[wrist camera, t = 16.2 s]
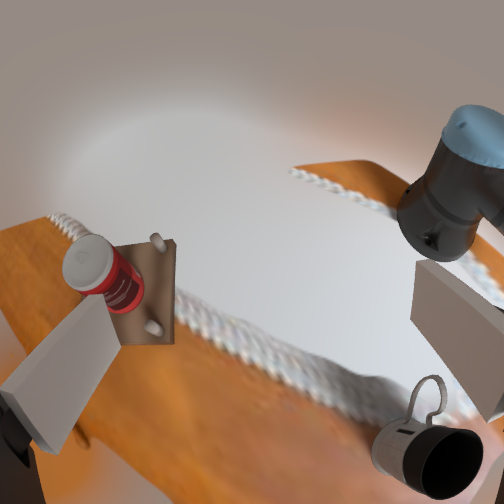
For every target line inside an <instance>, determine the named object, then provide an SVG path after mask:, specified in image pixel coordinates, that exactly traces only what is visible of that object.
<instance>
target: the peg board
mask: <svg viewBox="0 0 504 504" xmlns="http://www.w3.org/2000/svg"><path fill="white" fill-rule="evenodd" d="M150 241H151V242H146V243H138V244H131V245H124V246H116V247H114V248H115V249H116V250H117V251H118V252H119V253H120V254H121V255H122V256H123V257H124V258H125V259H126V260H127V261H128V262H129V263H130V264H131V265H132V266H133V267H134V268H135V269H136V270H137V271H138V272H139V273H140V275H141V277H142V279H143V282H144V296H143V298H142V301H141V302H140V304H139V305H138V306H137V307H136V308H135V309H134V310H132V311H130V312H128V313H124V314H117V313H112V312H110V311H108V312H109V315H110V318H111V321H112V323H113V326H114V329H115V332H116V335H117V337H118V340H119V343H120V345H167V344H174V300H175V265H176V264H175V263H176V244H175V242H174V241H173V239H169V240H163V239H162V238H161V236H160V235H159V234H158V233H153V234H152V235H151V236H150ZM85 298H86V297H85V296H84V295H82V299H81V302H82V301H83V300H84V299H85Z"/></svg>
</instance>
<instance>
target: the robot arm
mask: <svg viewBox="0 0 504 504" xmlns="http://www.w3.org/2000/svg"><path fill="white" fill-rule="evenodd" d="M483 217H485V218H486V219H487V220H488V221H489V222H490V223H491V224H492V225H493V226H494V227H495V228H496V229H498V231H499V232H500V233H501V234H503V236H504V116H503V115H502V114H500V113H498V112H496V111H495V110H492V109H490V108H487V107H484V106H479V105H464V106H461V107H459V108H457V109H456V110H455V111H454V112H453V113H452V115H451V117H450V119H449V121H448V123H447V125H446V126H445V127H444V129H443V131H442V136H441V139H440V142H439V144H438V146H437V148H436V150H435V153H434V155H433V157H432V159H431V161H430V163H429V165H428V168H427V170H426V172H425V174H424V175H423V176H422V177H420V178H419V179H418V180H417V181H415V182H414V183H413V184H411V185H410V186H409V187H408V188H407V189H406V190H405V192H404V193H403V195H402V197H401V199H400V202H399V204H398V208H397V218H398V223H399V226H400V229H401V231H402V233H403V235H404V237H405V238H406V240H407V241H408V242H409V243H410V245H411V246H412V247H413V248H414V249H416V251H418V252H419V253H420V254H422V255H423V256H425V257H427V258H429V259H427V260H420V261H416V271H415V282H414V293H413V301H412V310H411V317H410V320H411V321H412V322H413V323H414V324H415V326H416V327H417V328H418V329H419V331H420V332H421V333H422V334H423V336H424V337H425V338H426V339H427V341H428V342H429V343H430V345H431V346H432V347H433V348H434V350H435V351H436V352H437V354H438V355H439V356H440V358H441V359H442V360H443V362H444V363H445V364H446V366H447V367H448V368H449V370H450V371H451V372H452V374H453V375H454V377H455V378H456V379H457V381H458V382H459V383H460V385H461V386H462V388H463V389H464V390H465V392H466V393H467V395H468V396H469V398H470V399H471V400H472V402H473V403H474V405H475V406H476V408H477V409H478V411H479V412H480V414H481V415H482V417H483V418H484V420H485V421H486V423H489V422H491V421H493V420H495V419H497V418H499V417H501V416H503V415H504V310H503V309H501V308H499V307H496V306H494V305H492V304H491V303H490V302H488V301H487V300H486V299H484V298H483V297H482V296H481V295H480V294H478V293H477V292H475V291H474V290H473V289H471V288H470V287H469V286H468V285H466V284H465V283H464V282H462V281H461V280H460V279H458V278H457V277H456V276H454V275H453V274H451V273H450V272H449V271H447V270H446V269H445V268H443V267H442V266H440V265H439V264H438V263H436V262H435V261H438V262H451V261H455V260H457V259H459V258H460V257H461V256H463V255H464V254H465V253H466V252H467V251H468V249H469V248H470V247H471V245H472V243H473V241H474V238H475V234H476V231H477V228H478V225H479V222H480V220H481V219H482V218H483ZM433 260H434V261H433ZM120 349H121V345H120V343H119V340H118V337H117V335H116V332H115V329H114V326H113V323H112V321H111V318H110V315H109V312H108V309H107V306H106V303H105V299H104V296H103V294H95V295H88V296H87V297H86V298H85V299H84V300H83V301H82V302H81V303H80V304H79V305H78V306H77V307H76V308H75V309H74V310H73V311H72V312H71V313H70V314H69V315H68V316H67V317H65V318H64V319H63V320H62V321H61V322H60V323H59V324H58V325H57V326H56V327H55V328H54V329H53V330H52V331H51V332H50V333H49V335H48V336H47V337H46V338H45V339H44V340H43V341H42V342H41V343H40V344H39V345H38V346H37V347H36V348H35V349H34V350H33V351H32V352H31V353H30V354H29V355H28V356H27V358H26V359H25V360H24V361H23V362H22V363H21V364H20V365H19V366H18V367H17V368H16V370H15V371H14V372H13V373H12V374H11V375H10V376H9V377H8V379H7V380H6V381H5V382H4V383H3V384H2V385H1V387H0V504H46V503H45V499H44V495H43V491H42V488H41V483H40V479H39V475H38V470H37V465H36V460H35V455H34V451H33V449H32V448H31V446H30V445H29V444H30V442H31V441H32V439H33V440H34V442H35V443H36V444H37V445H38V446H39V448H40V449H41V450H42V451H45V452H48V453H51V454H54V455H58V453H59V452H60V450H61V448H62V446H63V444H64V442H65V441H66V439H67V437H68V435H69V433H70V432H71V430H72V428H73V426H74V425H75V423H76V421H77V419H78V418H79V416H80V414H81V413H82V411H83V409H84V407H85V406H86V404H87V402H88V401H89V399H90V397H91V396H92V394H93V392H94V391H95V389H96V387H97V386H98V384H99V382H100V381H101V379H102V377H103V376H104V374H105V372H106V371H107V369H108V368H109V366H110V364H111V363H112V361H113V360H114V358H115V356H116V355H117V353H118V352H119V350H120ZM503 432H504V430H503ZM495 504H504V470H503V475H502V479H501V483H500V487H499V490H498V494H497V498H496V501H495Z"/></svg>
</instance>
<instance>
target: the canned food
mask: <svg viewBox="0 0 504 504" xmlns="http://www.w3.org/2000/svg"><path fill="white" fill-rule="evenodd" d="M62 272H63V276H64V279H65V281H66V282H67V283H68V285H70V286H71V287H72V288H73V289H75V290H76V291H78V292H79V293H81V294H82V295H84V296H85V297H87V296H88V295H95V294H103V296H104V299H105V303H106V306H107V309H108V311H110V312H112V313H117V314H124V313H128V312H130V311H132V310H134V309H135V308H136V307H137V306H138V305H139V304H140V302H141V301H142V298H143V296H144V282H143V279H142V277H141V275H140V273H139V272H138V271H137V270H136V269H135V268H134V267H133V266H132V265H131V264H130V263H129V262H128V261H127V260H126V259H125V258H124V257H123V256H122V255H121V254H120V253H119V252H118V251H117V250H116V249H115V248H114V246H112V245H111V244H110V243H109V242H108V241H107V240H106V239H105V238H104V237H102V236H100V235H97V234H89V235H85V236H83V237H81V238H79V239H78V240H76V241H75V242H74V243H73V244H72V245H71V246H70V248H69V249H68V251H67V252H66V255H65V257H64V260H63V266H62Z"/></svg>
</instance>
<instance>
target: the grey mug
mask: <svg viewBox="0 0 504 504" xmlns="http://www.w3.org/2000/svg"><path fill="white" fill-rule="evenodd" d="M428 379H434V380H435V381H436V382H437V384H438V386H439V389H440V394H441V403H440V407H439V409H438V410H437V411H435V412H431V413H429V414H428V415H427V417H426V424H423V423H420V422H418V421H416V420H414V419H410V418H411V415H412V412H413V408H414V404H415V400H416V397H417V394H418V392H419V390H420V388H421V386H422V385H423V383H424V382H426V381H427V380H428ZM446 404H447V390H446V386H445V383H444V381H443V379H442V378H441V377H440V376H439V375H430V376H427V377H424V378H423V379H422V380H420V381H419V382H418V384H417V385H416V387H415V388H414V390H413V392H412V395H411V399H410V403H409V407H408V411H407V415H406V418H403V419H398V420H395V421H393V422H391V423H389V424H388V425H387V426H385V427H384V428H383V429H382V430H381V431H380V432H379V434H378V435H377V437H376V438H375V440H374V443H373V445H372V450H371V457H372V462H373V464H374V466H375V468H376V469H377V470H378V471H379V472H381V473H382V474H385V475H389V476H393V477H394V478H396V479H397V480H399V481H400V482H402V483H404V484H405V485H407V486H408V487H410V488H412V489H413V490H415V491H417V492H419V493H421V494H424V495H427V496H428V497H430V498H432V499H436V500H444V499H449V498H451V497H454V496H456V495H458V494H459V493H461V492H462V491H463V490H464V489H466V488H467V487H468V486H469V485H470V483H471V482H472V481H473V480H474V478H475V477H476V475H477V473H478V471H479V469H480V467H481V464H482V460H483V444H482V441H481V439H480V437H479V436H478V435H477V434H476V433H475V432H473V431H471V430H467V429H457V428H449V427H446V426H441V425H432V416H435V415H438V414H440V413H442V412H443V411H444V409H445V407H446Z"/></svg>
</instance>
